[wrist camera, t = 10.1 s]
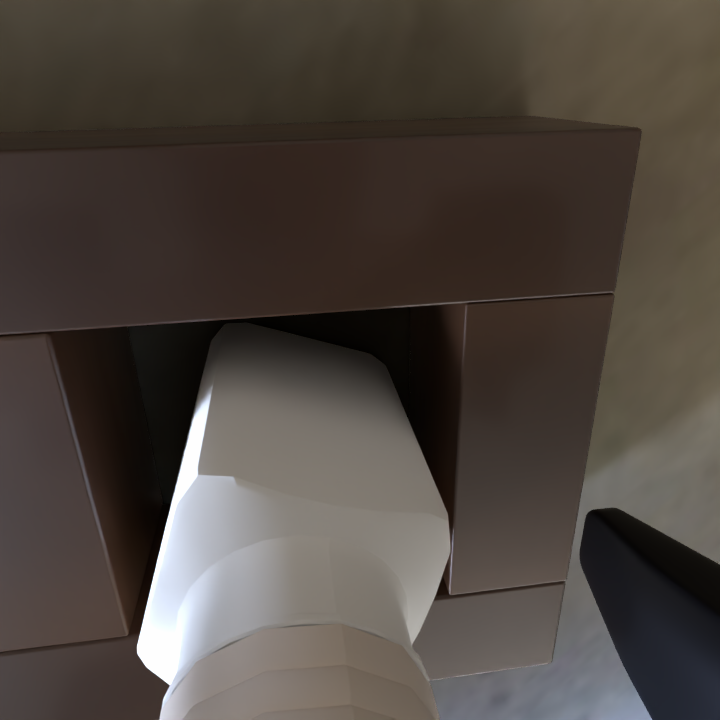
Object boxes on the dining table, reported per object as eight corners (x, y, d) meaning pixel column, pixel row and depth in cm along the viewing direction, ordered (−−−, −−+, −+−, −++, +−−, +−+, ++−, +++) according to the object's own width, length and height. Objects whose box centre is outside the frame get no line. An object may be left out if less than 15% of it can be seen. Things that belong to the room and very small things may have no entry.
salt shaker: (181, 456, 14) (48, 1014, 6) (219, 305, 13) (120, 745, 4) (338, 486, 15) (427, 997, 7) (390, 349, 14) (587, 776, 5)
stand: (492, 540, 17) (553, 665, 13) (-289, 632, 14) (-473, 812, 11) (532, 115, 12) (644, 127, 8) (-619, 151, 10) (-1141, 190, 6)
